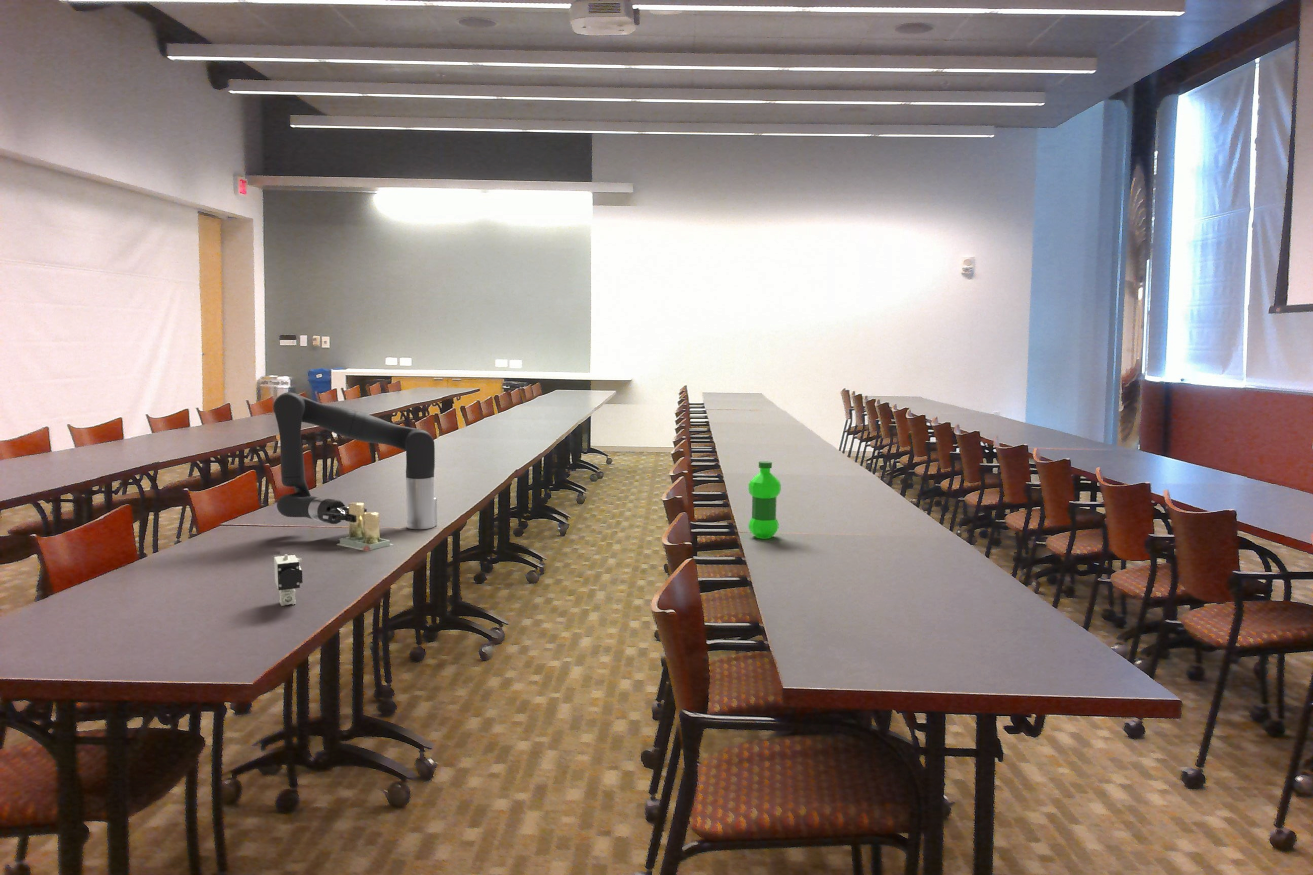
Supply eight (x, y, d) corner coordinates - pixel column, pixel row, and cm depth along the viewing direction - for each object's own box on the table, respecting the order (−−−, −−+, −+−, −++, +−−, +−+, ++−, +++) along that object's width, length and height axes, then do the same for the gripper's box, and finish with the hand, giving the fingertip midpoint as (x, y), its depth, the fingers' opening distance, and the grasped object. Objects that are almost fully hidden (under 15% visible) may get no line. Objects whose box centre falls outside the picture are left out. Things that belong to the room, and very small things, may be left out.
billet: (358, 533, 264) (357, 501, 263) (367, 535, 262) (367, 503, 261) (345, 536, 260) (345, 503, 259) (355, 538, 258) (355, 505, 257)
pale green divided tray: (363, 542, 268) (363, 533, 267) (393, 549, 260) (393, 539, 260) (336, 549, 259) (336, 539, 259) (366, 555, 252) (366, 545, 252)
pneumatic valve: (279, 611, 199) (277, 561, 198) (274, 598, 210) (273, 550, 208) (305, 608, 202) (303, 558, 201) (299, 595, 212) (297, 548, 211)
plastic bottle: (770, 532, 289) (772, 459, 287) (784, 539, 279) (786, 463, 277) (742, 534, 286) (744, 460, 284) (756, 541, 276) (758, 464, 274)
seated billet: (373, 543, 261) (372, 511, 260) (383, 545, 259) (382, 512, 257) (360, 546, 257) (360, 513, 256) (370, 548, 255) (370, 515, 254)
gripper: (306, 501, 262) (342, 508, 253) (345, 495, 274) (381, 502, 265) (306, 525, 263) (342, 533, 253) (346, 518, 274) (381, 525, 265)
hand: (362, 517), depth 259 cm, fingers closed on billet, 4 cm apart
